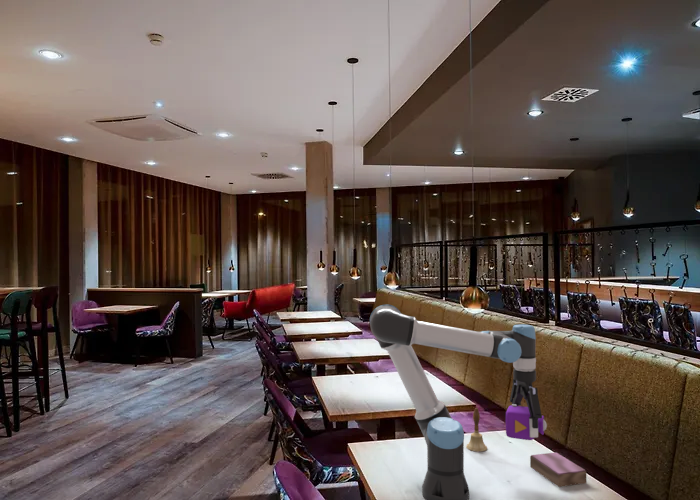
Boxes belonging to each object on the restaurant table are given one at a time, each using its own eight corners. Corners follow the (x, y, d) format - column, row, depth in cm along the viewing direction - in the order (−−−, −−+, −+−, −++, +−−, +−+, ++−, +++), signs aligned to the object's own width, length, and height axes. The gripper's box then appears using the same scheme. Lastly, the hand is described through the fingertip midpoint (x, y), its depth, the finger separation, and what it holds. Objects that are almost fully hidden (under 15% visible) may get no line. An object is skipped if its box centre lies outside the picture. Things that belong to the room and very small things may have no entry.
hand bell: (462, 446, 200) (461, 407, 200) (477, 442, 204) (477, 404, 204) (476, 453, 193) (475, 413, 193) (491, 449, 197) (491, 409, 197)
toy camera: (548, 443, 165) (548, 414, 165) (506, 440, 168) (506, 411, 168) (544, 432, 175) (543, 404, 176) (504, 429, 179) (504, 402, 179)
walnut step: (558, 486, 165) (558, 473, 165) (530, 466, 181) (530, 454, 181) (586, 483, 168) (586, 470, 168) (556, 463, 183) (556, 452, 183)
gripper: (552, 376, 161) (553, 442, 161) (519, 361, 185) (519, 418, 185) (530, 377, 160) (531, 444, 160) (500, 361, 184) (500, 419, 184)
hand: (525, 430), depth 172 cm, fingers closed on toy camera, 12 cm apart
